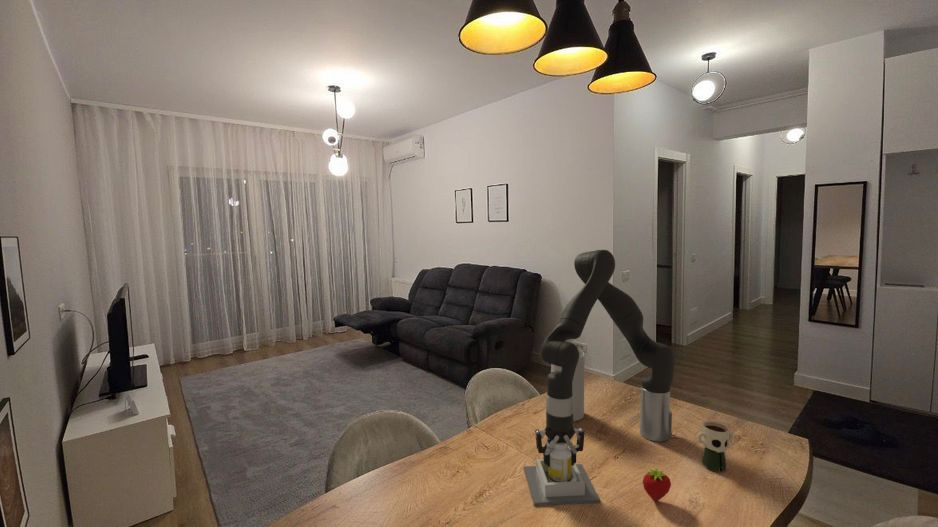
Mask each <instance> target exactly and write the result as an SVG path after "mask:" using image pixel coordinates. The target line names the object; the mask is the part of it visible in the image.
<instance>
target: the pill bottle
mask: <svg viewBox="0 0 938 527" xmlns="http://www.w3.org/2000/svg"><path fill="white" fill-rule="evenodd" d="M549 455H550V467H549V478H550V480H551V481H552V482H570V481H571V478H572V471H571V449H570V447H569V446H568V444H567V443H556V444H555V445H554V447H553V449H551V451H550V453H549Z"/></svg>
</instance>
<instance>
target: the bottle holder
mask: <svg viewBox="0 0 938 527" xmlns="http://www.w3.org/2000/svg"><path fill="white" fill-rule="evenodd" d="M583 466H584V465H583V464H582V463H574V466H572V465H571V471H572V478H571V481H570V482H552V481H551V480H550V478H549V467H547V466H546V465H545V463H544V461H543V458H537V459H535V465H530V466H529V465H527V466H523V471H524V475H525V479H526V482H527V485H528V490H529V493H530V495H531V496H530V497H531V500H532V503H533V506H551V505H573V504H574V505H575V504H594V503H595V504H597V503H598V504H599V503H601V499H600V497H599V495H598V493H597V491H596V489H595V487H594V485H593V484H592V482H591V479H590V477H589V476H588V474H587V472H586V470H585V468H584V467H583Z"/></svg>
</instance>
